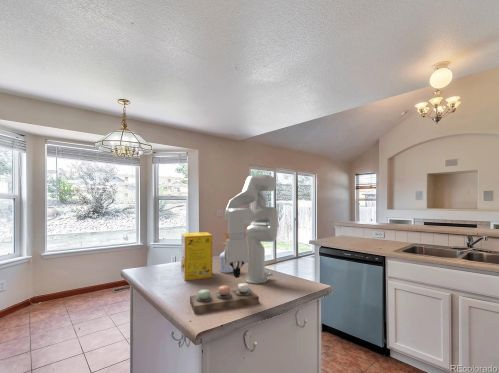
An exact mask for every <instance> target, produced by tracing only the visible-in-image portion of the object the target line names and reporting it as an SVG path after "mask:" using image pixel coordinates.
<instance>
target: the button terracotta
mask: <svg viewBox="0 0 499 373" xmlns="http://www.w3.org/2000/svg"><path fill="white" fill-rule="evenodd" d="M230 288H231V287H230V286H229V285H220V286H218V292H219V294H221V295H226V294H229V293H230V291H231V290H230Z"/></svg>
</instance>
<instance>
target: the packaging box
mask: <svg viewBox="0 0 499 373" xmlns="http://www.w3.org/2000/svg"><path fill="white" fill-rule="evenodd" d="M180 235H181V238H180V240H181V242H180V243H181V244H180V245H181V246H180V251H181V252H180V254H181V255H180V275H181V276H182V279H183V281H191V280H202V279H209V278H213V235H212V234H211V233H209V232H207V231H206V232H204V231H203V232H187V233H186V232H185V233H183V232H182V233H181V234H180Z"/></svg>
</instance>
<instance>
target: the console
mask: <svg viewBox="0 0 499 373" xmlns="http://www.w3.org/2000/svg"><path fill="white" fill-rule="evenodd" d="M259 299H260V297H259V295H258V294H256V293H255V292H254V291H253V290H252V289H251V288H249V291H247V292H240V291H238V289H234V290H232V289H231V290H230V293H229V294H226V295H221V294H219V291H218V292H211V293H210V297H209V298H207V299H199V298H198V294H196V295H190V296H189V303H190V307H191V308H192V311H193V314H196V315H197V314H202V313H208V312H214V311H220V310H228V309H233V308H239V307H246V306H253V305H258V304H260V300H259Z"/></svg>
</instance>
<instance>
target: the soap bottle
mask: <svg viewBox="0 0 499 373" xmlns="http://www.w3.org/2000/svg"><path fill="white" fill-rule="evenodd" d="M222 234H223V235H225V236H226V239H228V232H223V233H222ZM222 245H224V246H225V245H226V242H223V243H222ZM223 249H224V250H223V251H222V253H220V255H219V272H220V273H223V274H229V273H233V267H232V266H230V265H226V264H225V247H224V248H223Z"/></svg>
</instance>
